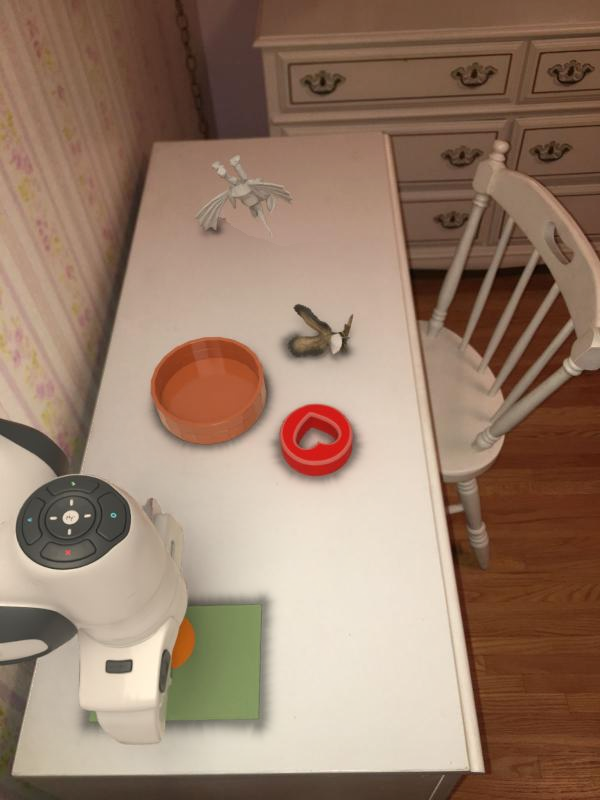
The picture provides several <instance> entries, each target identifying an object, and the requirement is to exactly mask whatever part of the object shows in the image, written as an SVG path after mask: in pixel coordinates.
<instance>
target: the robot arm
mask: <svg viewBox="0 0 600 800" xmlns="http://www.w3.org/2000/svg"><path fill="white" fill-rule="evenodd" d="M70 465H71V464H70V462H69V459H68V456H67V455H66V453H65V452H64V451H63V449H61V448H60V446H59V445H58V444H57V443H56V442H55V441H54V440H52V438H51V437H50V436H48V435H47V434H46V433H43V432H42V431H41V430H38V429H37V428H34V427H32V426H29V425H27V424H23V423H21V422H17V421H13V420H10V419H5V418H1V417H0V667H2V666H10V665H16V664H21V663H26V662H29V661H30V662H31V661H33V660H36V659H39V658H42V657H45V656H47V655H49V654H50V653H52V652H54V651H55V650H57V649H58V648H61V647H62V646H64V645H66V644H67V643H68V642H70V641H71V640H72V639H73V638H74V637H75V636H76V635H77V641H78V651H79V671H78V672H79V674H78V704H79V707H80V708H81V709H82V710H84V711H87V712H88V711H89V712H90V711H96V716H97V719H98V722H97V723H98V725H99V726H100V727H101V729H102V730H103V731H104V732H105V733H106V734H107V735H108V736H109V737H110V738H112V739H113V740H114V741H116V742H118V743H119V744H121V745H127V746H129V745H130V746H147V745H158V744H160V743H161V742H162V740H163V738H164V735H165V730H166V721H165V720H166V710H167V700H168V690H169V685H171V684H172V676H173V668H172V667H171V661H172V651H173V648H174V645H175V642H176V639H177V635H178V631H179V626H180V625H181V623H182V621H183V618H184V616H185V612H186V609H187V606H188V601H189V600H188V599H189V596H188V589H187V584H186V582H185V579H184V577H183V576H182V573H181V571H182V561H183V550H184V540H185V539H184V531H183V527H181V525H180V523H179V522H178V520H177V519H176V518H175V517H174V516H173V515H172V514H170V513H162V508H161V505H160V504H159V501H158V499H156V498H154V497H150V498H147V499H146V504H145V505H143V506H141V505H140V503H139V502H138V501H137V500H136V499H135V498H134V497H133V495H131V494H130V493H128V492H127V491H125V490H124V489H123V488H121V487H120V486H118V485H117V484H115V483H113V482H112V481H109V480H107V479H105V478H103V477H100V476H96V475H93V474H88V473H71V474H70V470H71V466H70Z"/></svg>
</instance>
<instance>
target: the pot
mask: <svg viewBox="0 0 600 800" xmlns="http://www.w3.org/2000/svg"><path fill="white" fill-rule="evenodd" d="M263 368H264V367H263V364H262V363H261V361H260V359H259V357H258V355H257V354H256V352H254V351H253V350H252V349H251V348H250V347H249V346H247V345H246V344H244V343H242V342H240V341H237V340H235V339H232V338H228V337H222V336H205V337H203V336H202V337H200V338H195V339H192V340H188V341H186V342H184V343H182V344H180V345H177V346H175V347H174V348H173V349H172V350H170V351H169V352H167V353H166V354H165V355H164V356H163V357H162V358H161V360H160V361H159V362H158V364H157V365H156V366H155V368H154V370H153V373H152V376H151V378H150V396H151V398H152V400H153V403H154V406H155V408H156V411H157V414H158V415H159V419H160V421H161V422H162V424H163V425H164V427H165V428H166V430H168V431H169V432H170V433H171V434H172V435H174V436H175V437H177V438H178V439H180V440H182V441H185V442H187V443H193V444H196V445H197V444H198V445H213V444H219V443H224V442H228V441H230V440H233V439H235V438H237V437H239V436H241V435H242V434H244V433H246V432H247V431H248V430H249V429H250V428H252V427H253V426H254V425H255V423H256V422H257V421H258V420H259V418H260V416H261V414H262V413H263V411H264V408H265V406H266V400H267V391H266V381H265V375H264V370H263Z"/></svg>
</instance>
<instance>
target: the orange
mask: <svg viewBox="0 0 600 800" xmlns="http://www.w3.org/2000/svg"><path fill="white" fill-rule="evenodd" d="M194 645H195V634H194V630H193V627H192V625H191V623H190V622H189V621H188V620H187V619H186V618H185V617H184V618H183V621H182V623H181V625H180V626H179V631H178V635H177V639H176V642H175V645H174V648H173V651H172V661H171V667H172V668H173V669H175V668H177V667H179V666H181V665H182V664H183V663H184V662H185V661H187V659H188V658H189V657H190V655H191V653H192V651H193V648H194Z"/></svg>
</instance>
